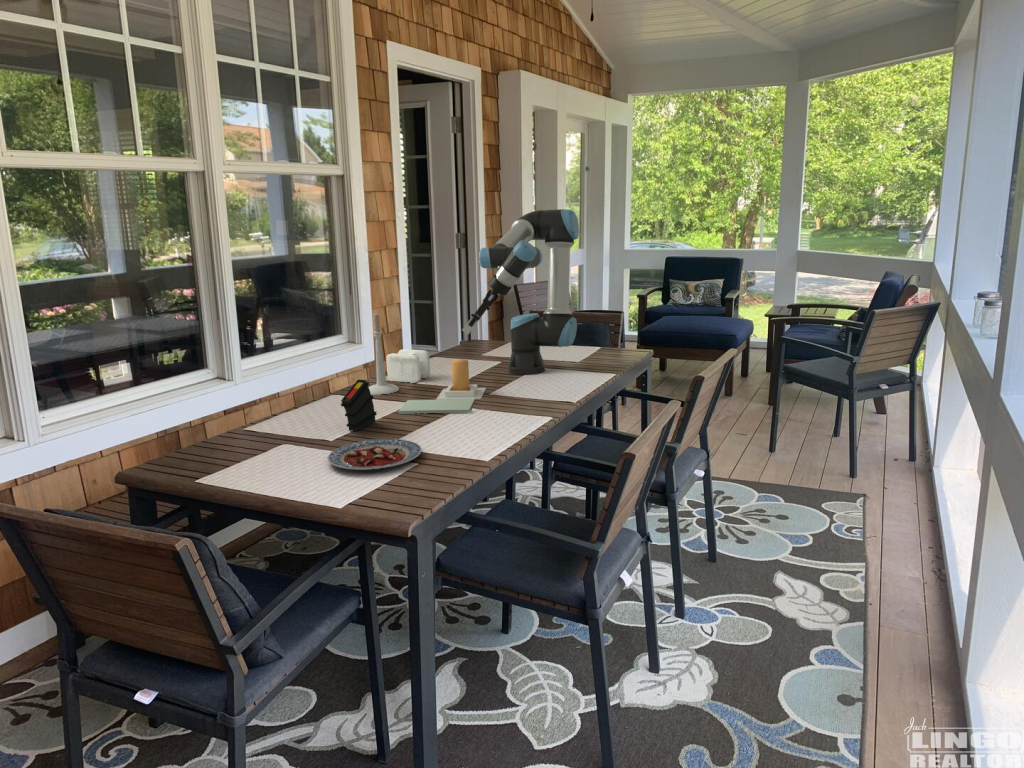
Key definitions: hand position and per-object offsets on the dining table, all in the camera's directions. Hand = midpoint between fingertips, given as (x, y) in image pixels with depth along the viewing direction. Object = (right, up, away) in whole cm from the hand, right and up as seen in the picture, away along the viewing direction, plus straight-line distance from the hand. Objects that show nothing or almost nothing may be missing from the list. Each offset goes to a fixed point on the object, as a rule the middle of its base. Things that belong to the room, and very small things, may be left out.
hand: (469, 326), depth 274 cm
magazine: (-33, -35, -29) cm, 56 cm away
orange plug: (-3, -24, +5) cm, 24 cm away
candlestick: (-34, -23, +18) cm, 45 cm away
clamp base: (-3, -25, +5) cm, 25 cm away
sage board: (-10, -29, -10) cm, 32 cm away
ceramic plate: (-23, -42, -60) cm, 77 cm away
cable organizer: (-26, -19, +33) cm, 46 cm away
